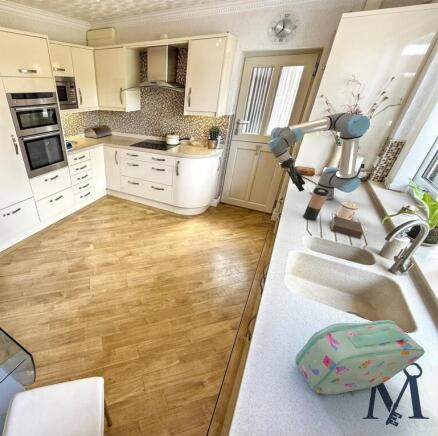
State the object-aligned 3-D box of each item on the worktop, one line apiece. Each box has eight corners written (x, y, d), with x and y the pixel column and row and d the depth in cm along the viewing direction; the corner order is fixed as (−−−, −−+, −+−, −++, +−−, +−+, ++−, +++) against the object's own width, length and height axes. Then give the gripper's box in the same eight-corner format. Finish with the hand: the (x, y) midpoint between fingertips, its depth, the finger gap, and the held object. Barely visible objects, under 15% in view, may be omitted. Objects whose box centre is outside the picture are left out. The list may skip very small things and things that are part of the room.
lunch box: (359, 351, 76) (397, 308, 65) (392, 386, 68) (442, 343, 57) (286, 362, 72) (314, 318, 61) (311, 401, 63) (348, 357, 53)
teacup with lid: (350, 222, 152) (359, 206, 146) (334, 216, 157) (342, 201, 152) (353, 216, 160) (361, 200, 154) (337, 211, 165) (345, 196, 159)
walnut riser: (330, 221, 152) (333, 215, 150) (357, 228, 146) (360, 222, 144) (331, 230, 142) (334, 225, 140) (359, 238, 135) (363, 232, 133)
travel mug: (315, 216, 157) (328, 189, 146) (316, 221, 151) (330, 193, 140) (302, 213, 159) (314, 186, 149) (303, 218, 153) (315, 191, 143)
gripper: (281, 159, 161) (298, 184, 162) (276, 167, 143) (295, 196, 144) (292, 152, 156) (309, 179, 157) (289, 161, 138) (308, 190, 139)
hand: (302, 187), depth 150 cm, fingers open, 13 cm apart
